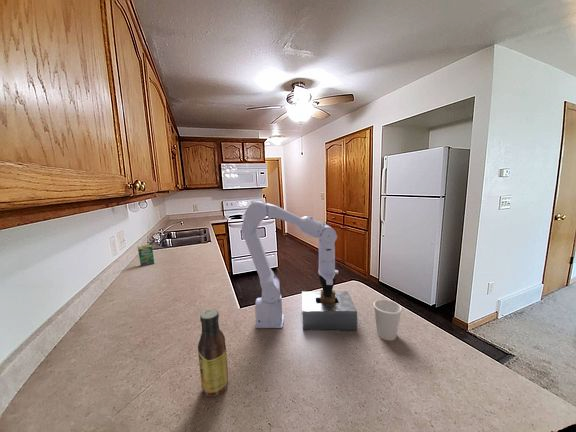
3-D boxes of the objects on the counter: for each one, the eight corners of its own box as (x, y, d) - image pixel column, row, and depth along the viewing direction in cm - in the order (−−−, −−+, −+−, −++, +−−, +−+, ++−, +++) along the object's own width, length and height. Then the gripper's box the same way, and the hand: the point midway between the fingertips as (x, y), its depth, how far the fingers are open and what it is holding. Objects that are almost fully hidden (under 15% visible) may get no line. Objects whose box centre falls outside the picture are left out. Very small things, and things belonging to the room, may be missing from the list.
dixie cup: (379, 323, 77) (379, 296, 76) (404, 334, 72) (406, 305, 70) (368, 335, 72) (368, 306, 70) (395, 347, 66) (396, 316, 64)
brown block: (320, 305, 80) (321, 292, 79) (320, 302, 82) (320, 289, 81) (334, 306, 80) (335, 292, 79) (333, 303, 82) (334, 290, 81)
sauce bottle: (206, 377, 57) (200, 305, 55) (230, 375, 58) (225, 303, 55) (198, 402, 51) (190, 321, 48) (225, 399, 51) (220, 319, 49)
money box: (303, 330, 75) (302, 311, 74) (302, 308, 89) (301, 291, 88) (356, 330, 74) (357, 311, 73) (347, 308, 88) (347, 291, 87)
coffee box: (140, 266, 143) (137, 247, 142) (139, 265, 146) (137, 246, 144) (154, 263, 148) (152, 244, 146) (154, 262, 150) (152, 244, 149)
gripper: (342, 266, 71) (342, 305, 73) (334, 253, 86) (334, 286, 87) (320, 266, 71) (320, 305, 73) (316, 253, 86) (316, 286, 88)
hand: (326, 295), depth 80 cm, fingers closed on brown block, 2 cm apart
